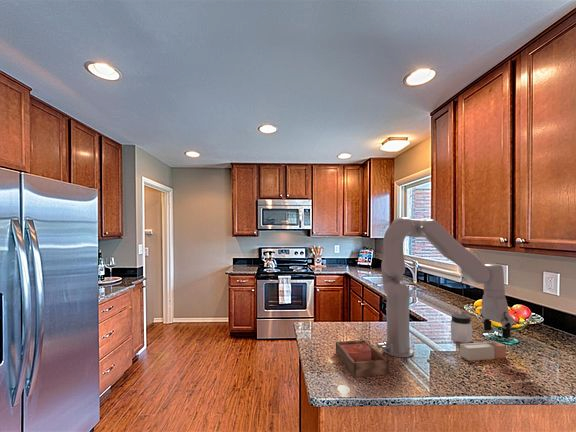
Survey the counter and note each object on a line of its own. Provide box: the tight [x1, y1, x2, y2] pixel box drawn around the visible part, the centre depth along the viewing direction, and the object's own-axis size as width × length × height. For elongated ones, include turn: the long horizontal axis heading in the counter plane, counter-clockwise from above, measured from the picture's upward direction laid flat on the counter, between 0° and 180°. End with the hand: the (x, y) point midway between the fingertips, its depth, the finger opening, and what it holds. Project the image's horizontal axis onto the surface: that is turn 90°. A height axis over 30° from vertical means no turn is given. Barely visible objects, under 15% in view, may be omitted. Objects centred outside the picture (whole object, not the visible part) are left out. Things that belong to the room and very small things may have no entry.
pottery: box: [341, 343, 373, 362], centre depth 129 cm, size 18×10×10 cm, turn 10°
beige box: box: [459, 341, 496, 361], centre depth 132 cm, size 12×5×5 cm, turn 98°
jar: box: [450, 313, 473, 344], centre depth 153 cm, size 9×8×12 cm
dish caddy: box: [335, 339, 389, 378], centre depth 128 cm, size 14×23×5 cm, turn 8°
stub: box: [485, 340, 507, 360], centre depth 133 cm, size 5×5×5 cm
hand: (496, 333), depth 133 cm, fingers open, 9 cm apart
